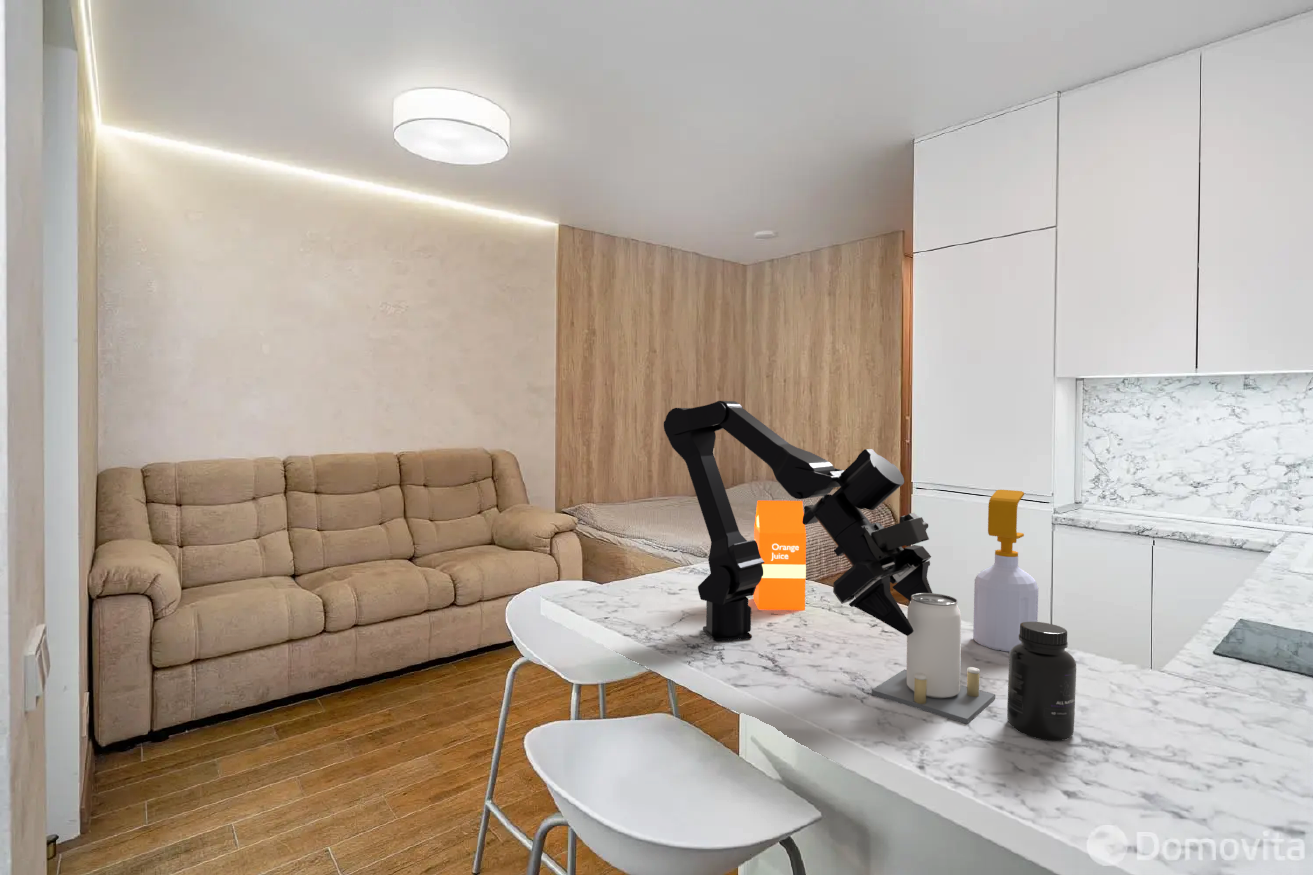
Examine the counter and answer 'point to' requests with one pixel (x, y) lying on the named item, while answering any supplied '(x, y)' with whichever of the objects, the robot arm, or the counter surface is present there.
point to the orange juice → (781, 555)
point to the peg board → (954, 708)
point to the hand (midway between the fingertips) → (925, 625)
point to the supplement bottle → (1042, 683)
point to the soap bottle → (1003, 581)
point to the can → (934, 644)
